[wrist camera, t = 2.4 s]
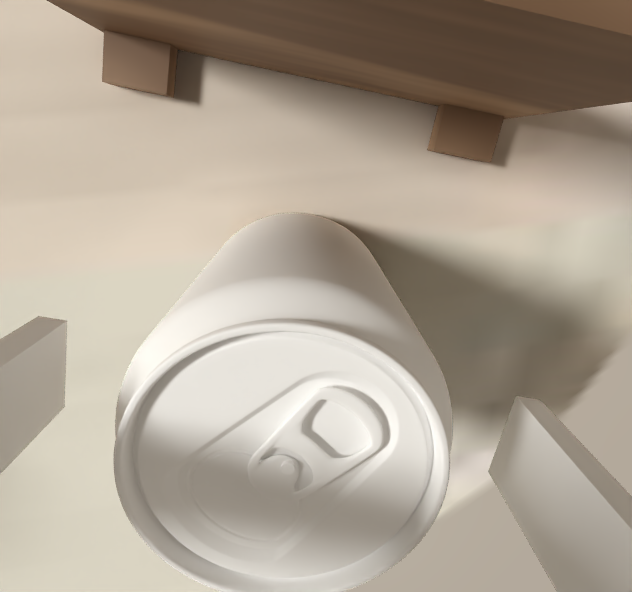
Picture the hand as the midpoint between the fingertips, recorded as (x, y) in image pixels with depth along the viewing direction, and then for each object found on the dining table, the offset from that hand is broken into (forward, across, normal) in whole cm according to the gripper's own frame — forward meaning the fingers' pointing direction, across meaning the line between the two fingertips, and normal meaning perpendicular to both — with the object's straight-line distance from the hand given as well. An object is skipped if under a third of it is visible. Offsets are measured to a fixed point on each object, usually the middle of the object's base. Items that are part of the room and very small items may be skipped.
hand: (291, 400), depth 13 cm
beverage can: (+8, 0, 0) cm, 9 cm away
